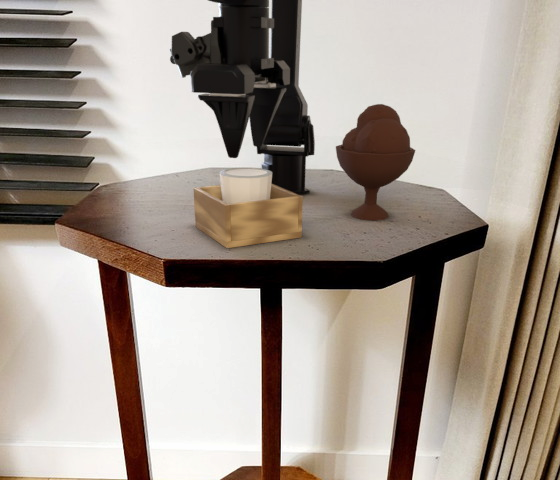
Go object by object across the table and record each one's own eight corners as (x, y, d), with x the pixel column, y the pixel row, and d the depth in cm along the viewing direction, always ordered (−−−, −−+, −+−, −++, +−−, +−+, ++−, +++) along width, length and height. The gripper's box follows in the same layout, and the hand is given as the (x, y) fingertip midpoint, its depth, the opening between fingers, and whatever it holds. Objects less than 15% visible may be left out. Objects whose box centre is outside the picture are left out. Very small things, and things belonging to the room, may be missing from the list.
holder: (264, 218, 87) (264, 180, 84) (301, 237, 79) (303, 196, 76) (195, 226, 83) (193, 187, 80) (226, 248, 74) (225, 205, 72)
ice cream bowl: (319, 210, 91) (324, 102, 84) (382, 204, 95) (392, 100, 88) (354, 228, 83) (362, 110, 75) (421, 220, 87) (436, 107, 79)
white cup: (266, 234, 77) (266, 178, 73) (214, 231, 78) (212, 175, 75) (277, 220, 83) (277, 168, 79) (228, 217, 84) (227, 165, 80)
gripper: (209, 10, 78) (214, 138, 86) (140, 3, 63) (154, 160, 70) (292, 10, 75) (289, 142, 83) (241, 3, 60) (243, 166, 67)
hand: (246, 151), depth 76 cm, fingers open, 9 cm apart
